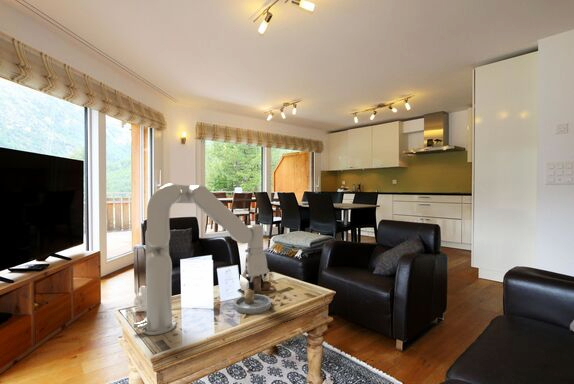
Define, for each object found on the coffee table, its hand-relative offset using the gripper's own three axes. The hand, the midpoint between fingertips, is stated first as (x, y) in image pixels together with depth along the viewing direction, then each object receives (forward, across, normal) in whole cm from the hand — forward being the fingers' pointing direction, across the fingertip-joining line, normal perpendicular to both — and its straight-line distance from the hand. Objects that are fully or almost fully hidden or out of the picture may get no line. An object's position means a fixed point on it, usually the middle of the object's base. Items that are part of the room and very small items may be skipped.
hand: (256, 288), depth 139 cm
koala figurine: (+9, -45, +30) cm, 55 cm away
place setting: (+11, +12, +20) cm, 25 cm away
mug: (+10, +9, +26) cm, 29 cm away
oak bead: (+9, 0, +7) cm, 11 cm away
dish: (+10, 0, +4) cm, 10 cm away
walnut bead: (+1, 0, 0) cm, 1 cm away
